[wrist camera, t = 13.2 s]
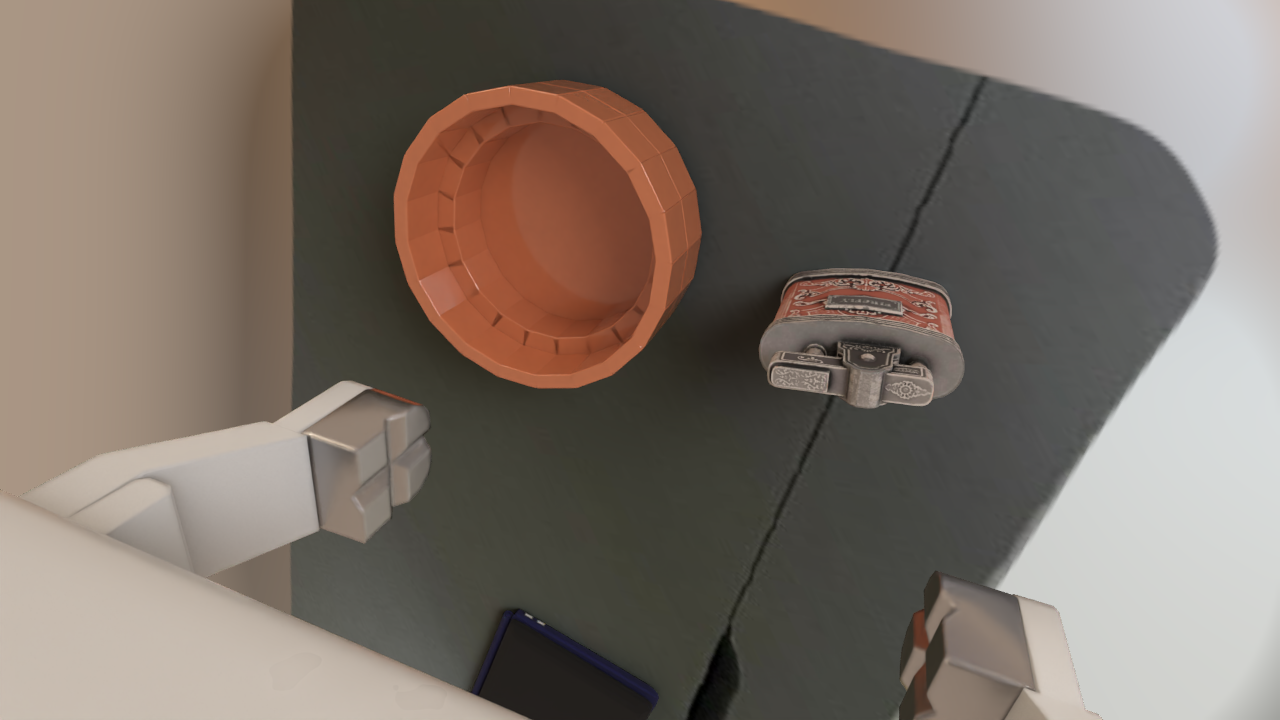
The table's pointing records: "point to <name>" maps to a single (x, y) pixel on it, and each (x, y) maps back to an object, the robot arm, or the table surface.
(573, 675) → the laptop
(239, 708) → the robot arm
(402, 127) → the table surface
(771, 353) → the lighter
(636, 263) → the bowl
